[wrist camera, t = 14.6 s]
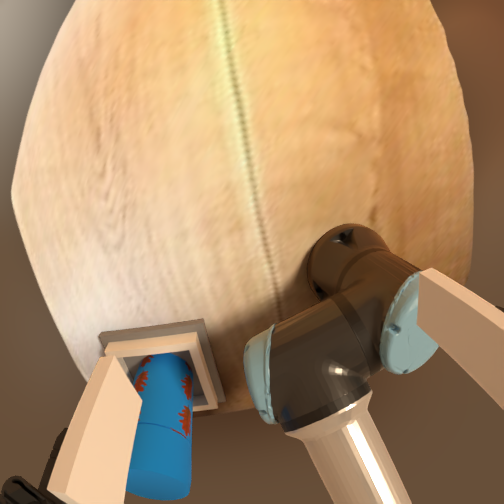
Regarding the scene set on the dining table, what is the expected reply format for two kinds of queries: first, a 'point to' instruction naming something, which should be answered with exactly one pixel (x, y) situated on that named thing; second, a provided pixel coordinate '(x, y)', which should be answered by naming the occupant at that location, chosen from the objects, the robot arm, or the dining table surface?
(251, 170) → the dining table surface
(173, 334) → the holder
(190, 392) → the thermos
